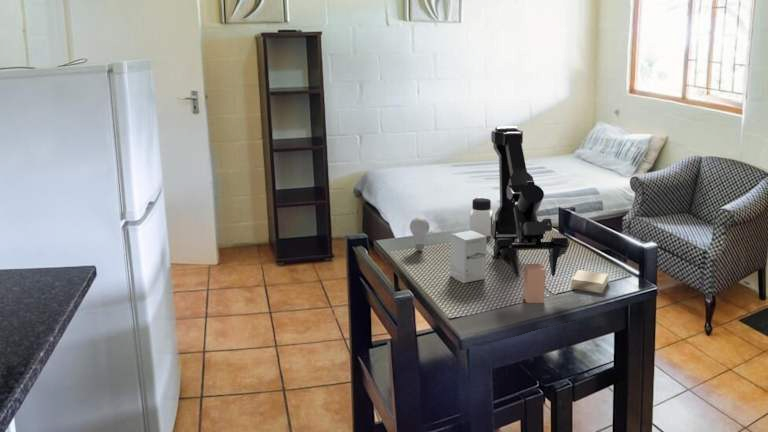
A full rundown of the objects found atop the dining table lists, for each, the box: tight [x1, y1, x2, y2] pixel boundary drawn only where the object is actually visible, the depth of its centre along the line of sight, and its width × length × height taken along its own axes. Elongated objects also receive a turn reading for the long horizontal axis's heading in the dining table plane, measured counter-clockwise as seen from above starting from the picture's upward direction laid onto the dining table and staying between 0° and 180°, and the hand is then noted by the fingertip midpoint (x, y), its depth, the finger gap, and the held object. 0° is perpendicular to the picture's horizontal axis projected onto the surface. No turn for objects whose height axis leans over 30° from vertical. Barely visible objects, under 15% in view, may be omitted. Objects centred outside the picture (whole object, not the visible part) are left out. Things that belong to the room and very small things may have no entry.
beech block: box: [571, 269, 609, 294], centre depth 191 cm, size 8×8×3 cm
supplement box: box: [449, 230, 487, 284], centre depth 197 cm, size 7×7×13 cm
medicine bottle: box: [469, 197, 493, 237], centre depth 238 cm, size 7×7×12 cm
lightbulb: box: [409, 216, 430, 252], centre depth 220 cm, size 6×6×11 cm
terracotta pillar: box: [522, 263, 547, 304], centre depth 181 cm, size 4×4×9 cm
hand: (535, 276), depth 179 cm, fingers open, 9 cm apart
